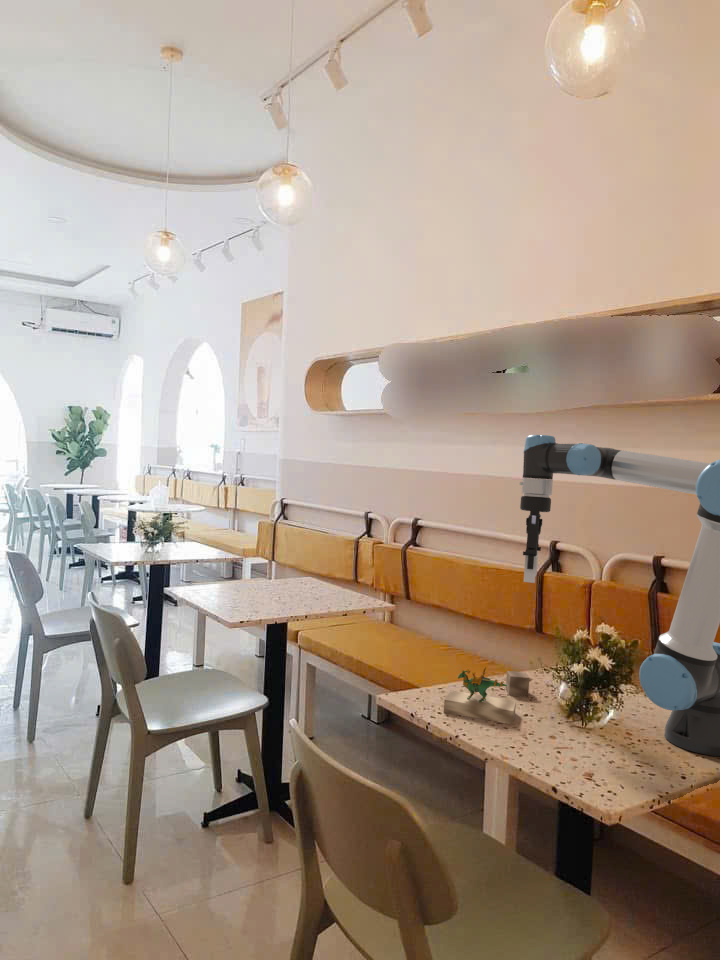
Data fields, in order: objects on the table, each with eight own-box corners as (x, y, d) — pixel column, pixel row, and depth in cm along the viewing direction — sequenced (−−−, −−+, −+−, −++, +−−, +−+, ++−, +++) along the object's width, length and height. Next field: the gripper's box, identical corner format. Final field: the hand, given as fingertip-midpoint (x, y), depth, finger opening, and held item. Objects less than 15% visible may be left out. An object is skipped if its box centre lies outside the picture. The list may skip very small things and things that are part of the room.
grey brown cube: (524, 690, 189) (525, 672, 189) (528, 696, 184) (529, 677, 184) (505, 689, 189) (506, 670, 189) (508, 695, 184) (510, 676, 184)
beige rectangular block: (515, 713, 170) (516, 700, 170) (512, 724, 163) (513, 711, 163) (449, 702, 175) (450, 690, 175) (443, 712, 167) (444, 699, 167)
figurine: (458, 693, 172) (460, 660, 172) (507, 703, 168) (509, 669, 167) (454, 697, 169) (457, 663, 169) (504, 707, 165) (507, 672, 165)
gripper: (523, 494, 193) (517, 571, 194) (518, 495, 169) (512, 583, 170) (551, 496, 191) (546, 574, 192) (550, 497, 167) (544, 587, 168)
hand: (530, 578), depth 181 cm, fingers open, 13 cm apart
